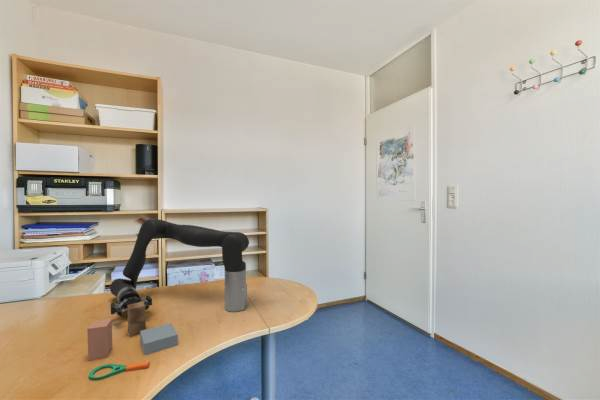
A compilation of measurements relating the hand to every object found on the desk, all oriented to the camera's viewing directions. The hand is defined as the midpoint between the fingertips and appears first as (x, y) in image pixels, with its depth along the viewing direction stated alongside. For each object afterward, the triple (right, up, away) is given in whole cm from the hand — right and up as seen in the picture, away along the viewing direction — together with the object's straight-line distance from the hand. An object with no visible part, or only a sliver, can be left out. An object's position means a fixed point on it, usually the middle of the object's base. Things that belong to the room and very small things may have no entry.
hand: (134, 310), depth 107 cm
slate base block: (+15, -7, -12) cm, 20 cm away
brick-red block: (0, -7, -18) cm, 20 cm away
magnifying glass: (+11, -8, -26) cm, 29 cm away
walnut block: (+4, -6, -4) cm, 8 cm away
